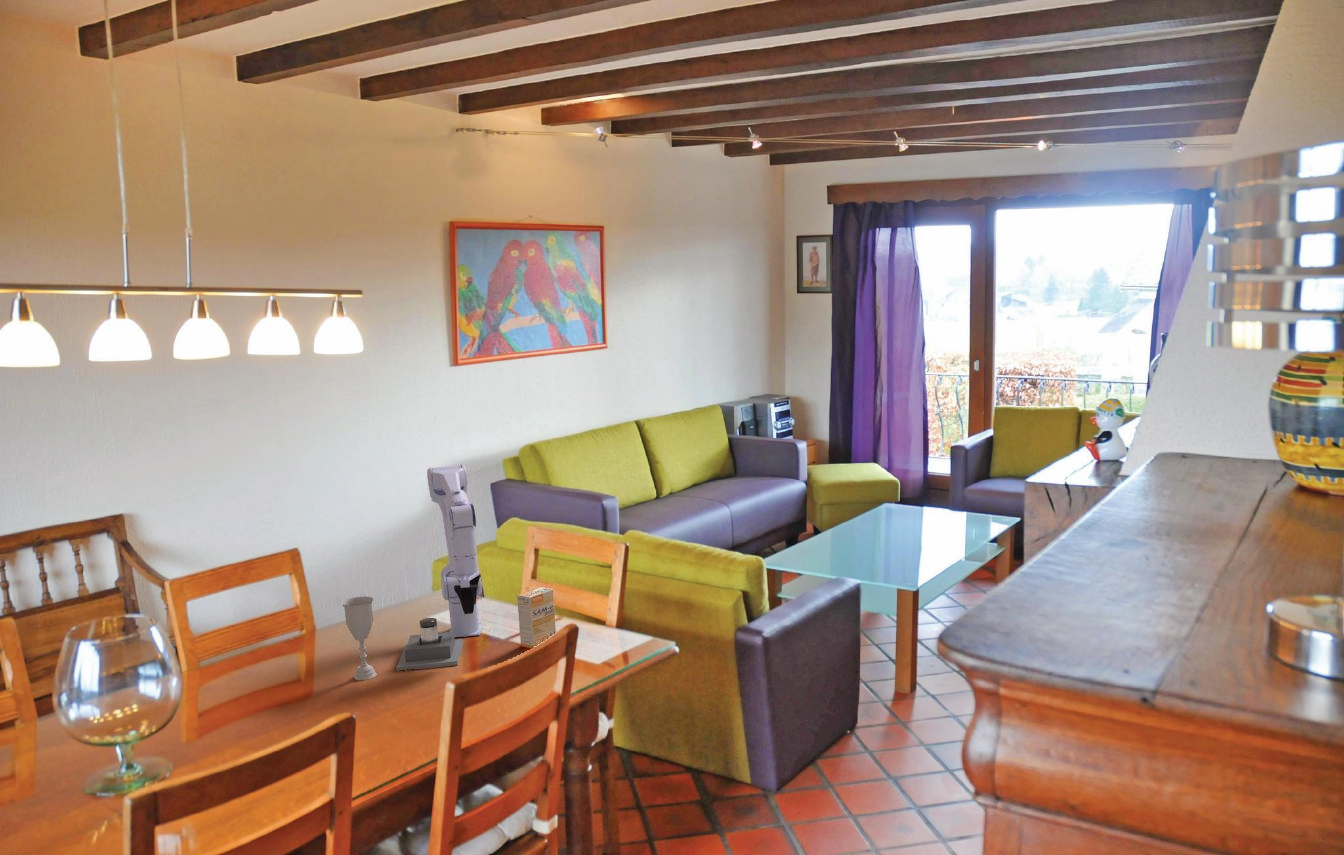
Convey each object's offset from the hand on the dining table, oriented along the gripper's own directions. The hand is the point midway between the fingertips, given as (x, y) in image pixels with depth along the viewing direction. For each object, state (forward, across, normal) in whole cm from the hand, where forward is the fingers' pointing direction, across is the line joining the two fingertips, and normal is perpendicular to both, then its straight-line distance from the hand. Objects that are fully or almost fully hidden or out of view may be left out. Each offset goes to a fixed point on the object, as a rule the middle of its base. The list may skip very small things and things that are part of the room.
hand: (470, 608), depth 246 cm
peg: (+9, +1, -10) cm, 14 cm away
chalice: (+11, +10, -24) cm, 28 cm away
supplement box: (+11, -1, +16) cm, 19 cm away
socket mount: (+10, +1, -10) cm, 15 cm away
